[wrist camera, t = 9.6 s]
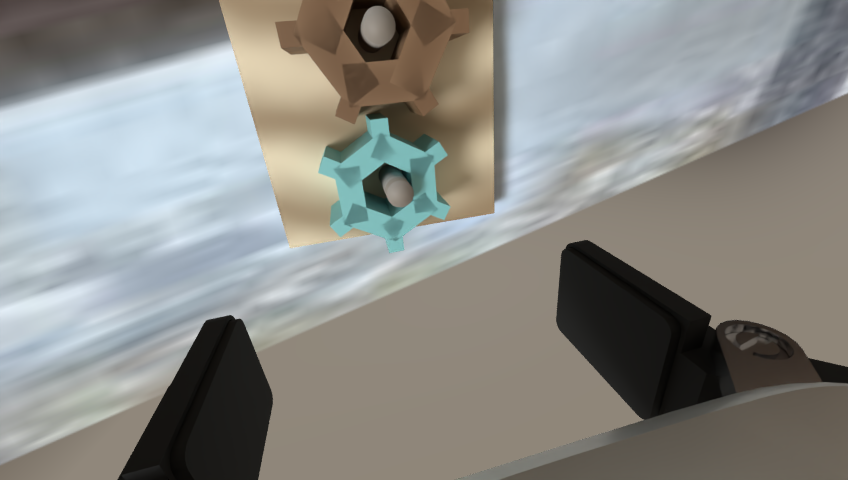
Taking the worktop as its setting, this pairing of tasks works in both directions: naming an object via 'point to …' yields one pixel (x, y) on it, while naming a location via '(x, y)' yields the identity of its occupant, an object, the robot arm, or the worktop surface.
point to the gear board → (363, 114)
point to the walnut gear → (381, 80)
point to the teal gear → (372, 209)
